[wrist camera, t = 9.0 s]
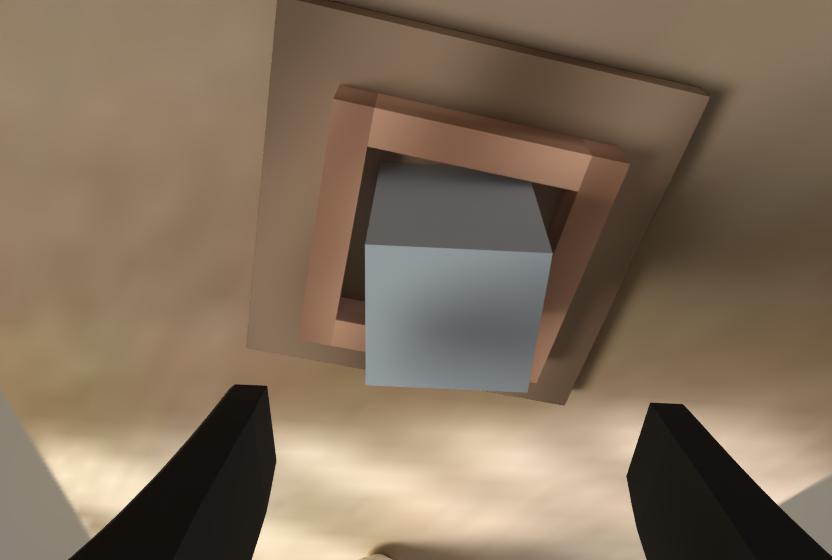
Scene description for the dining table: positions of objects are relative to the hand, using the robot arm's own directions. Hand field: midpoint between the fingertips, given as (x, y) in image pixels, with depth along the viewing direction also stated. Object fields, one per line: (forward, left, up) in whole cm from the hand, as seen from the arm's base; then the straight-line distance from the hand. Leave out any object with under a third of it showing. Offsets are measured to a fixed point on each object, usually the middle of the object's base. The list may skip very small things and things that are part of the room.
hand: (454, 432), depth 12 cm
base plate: (0, 0, -8) cm, 8 cm away
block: (0, 0, -8) cm, 8 cm away
